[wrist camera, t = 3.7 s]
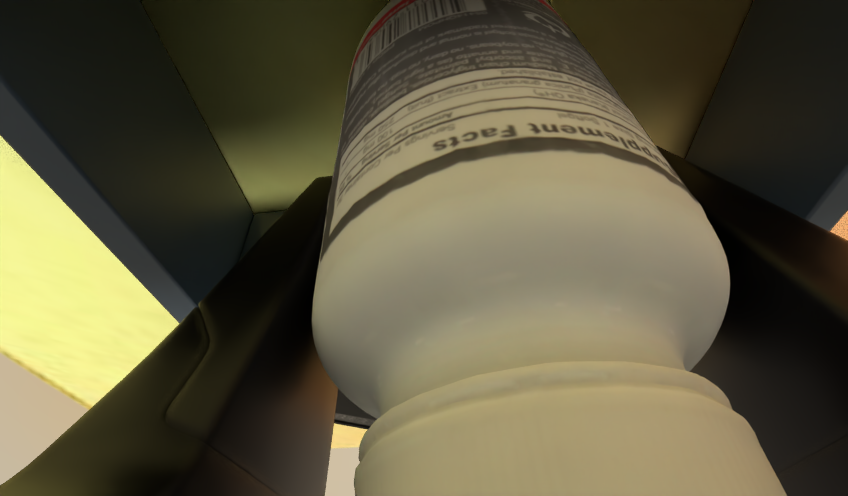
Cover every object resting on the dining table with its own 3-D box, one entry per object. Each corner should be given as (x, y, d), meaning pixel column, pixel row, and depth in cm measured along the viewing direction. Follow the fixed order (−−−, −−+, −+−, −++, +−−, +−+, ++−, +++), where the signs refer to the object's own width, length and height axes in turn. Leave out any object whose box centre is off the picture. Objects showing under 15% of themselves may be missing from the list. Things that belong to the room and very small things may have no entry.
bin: (695, 186, 14) (776, 295, 11) (240, 231, 15) (200, 346, 12) (906, -254, 7) (1278, -283, 4) (26, -132, 8) (-209, -80, 5)
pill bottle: (533, 182, 13) (680, 612, 6) (351, 171, 12) (297, 632, 6) (610, -24, 9) (1251, 550, 2) (347, -55, 8) (142, 598, 2)
